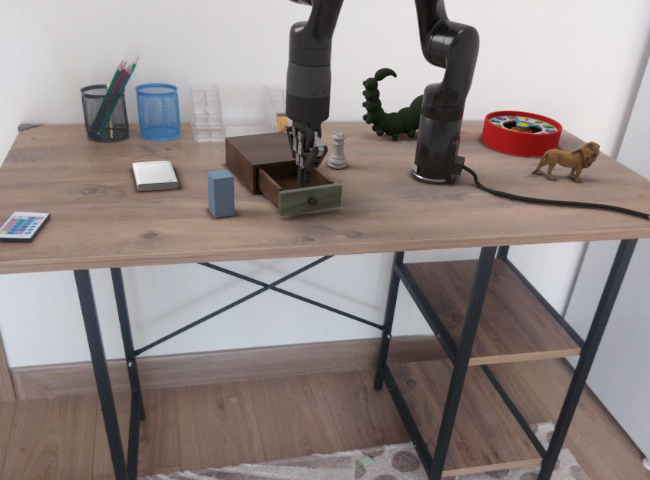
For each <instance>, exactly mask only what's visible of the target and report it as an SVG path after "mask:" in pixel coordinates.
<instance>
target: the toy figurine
mask: <svg viewBox="0 0 650 480" xmlns="http://www.w3.org/2000/svg"><path fill="white" fill-rule="evenodd" d="M390 76H391V77H393V78H395V79H397V77H398V74H397V72H396V71H395V70H394V69H392V68H391V67H381V68H380V69H378V70H376V72H375V73H374V76H373V77H368V78H366V79H365V80H363V81H362V86H363V87H364V90H362V91H361V93H362V97H364V99H365V101H363V102H362V103H361V106H362V107H363V108H364V109H365V110H366V113H364V114H363V115H362V120H363V121H364V122H365V124H366V125H372V126H371V130H372V131H373V132H375V135H377V137H383V136H384V135H387V136H388V137H391V140H393V141H398V140H399V139H400V136H401V135H402V134H404V135H406V137H407V138H408V139H415V137H417V132H416V131H417V130H418V131H419V123H420V116H421V108H422V101H423V93H422V94H420V95H418V96H416V97H415V98H413V100H412V101H411V103H410V105H409V106H405V107H402V108H400V109H399V110H398V111H397V112H396V111H392V112H385V110H384V108H383V107H382V104H383V103H382V101H381V99H380V97H381V92H380V89H379V88H378V87H379V82H381V81H383V80H385V79H386V78H387V77H390Z"/></svg>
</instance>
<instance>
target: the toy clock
mask: <svg viewBox="0 0 650 480" xmlns="http://www.w3.org/2000/svg"><path fill="white" fill-rule="evenodd" d="M562 131H563V126H562V124H561V123H560V122H558V121H557V120H555V119H553V118H551V117H548V116H545V115H542V114H539V113H534V112H529V111H521V110H495V111H491V112H489V113H487V114H486V115H485V117H484V122H483V127H482V132H481V137H480V140H481V142H482V144H483V145H484V146H486V147H487V148H489V149H492V150H494V151H496V152H499V153H503V154H506V155H511V156H517V157H524V158H542V156H543V155H544V154H545V153H546V152H547V151H548V150H551V149H558V147H559V143H560V139H561V135H562Z"/></svg>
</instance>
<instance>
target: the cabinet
mask: <svg viewBox="0 0 650 480" xmlns="http://www.w3.org/2000/svg"><path fill="white" fill-rule="evenodd" d="M224 141H225V142H224V148H225V165H226V167H228V168H229V170H230V171H231V172H232V174H234V175H235V176H236V177H237V178H238V179H239V181H240V182H241V183H242V184H243V185H244V186H245V187H246V188H247V189H248V190H249V191H250V193H251V194H253V195H255V194H263V193H262V191H261V190H260V189H259V188H258V187H257V186H256V168H259V167H267V166H275V165H283V164H291V163H296V158H295V159H293V157H292V153H291V149H290V145H289V140H288V136H287V132H286V131H276V132H267V133H257V134H248V135H247V134H246V135H237V136H226V137H224Z"/></svg>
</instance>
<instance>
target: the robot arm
mask: <svg viewBox="0 0 650 480" xmlns="http://www.w3.org/2000/svg"><path fill="white" fill-rule="evenodd" d="M288 1H289V2H291V3H294V4H297V5H304V6H308V7H311V11H310V14H309V17H308V18H307V20H300V21H296V22H295V23H293V24H292V25H291V26H290V28H289V34H288V61H287V69H286V76H285V77H286V79H285V112H284V113H285V117H287V118H288V119H289V120H291V123H292V125H287V126H285V127H286V128H285V132H286V133H287V136H288V140H289V145H290V149H291V153H292V157H293V159H295V158H296V164H297V165H298V175H297V184H298V185H299V186H300V187H301V188H306V187H310V186H311V183H312V168H319V167H320V166H321V164H322V162H323V161H324V159H325V157H326V156H327V154H328V152H329V148H328V145H326V144H325V145H323V143H322V141H321V139H322V136H323V133H322V132H323V131H322V123H324V122H326V121H327V120H328V119H329V118H330V108H331V94H332V93H331V92H332V52H333V38H334V33H335V30H336V28H337V24H338V21H339V18H340V14H341V12H342V8H343V5H344V2H345V0H288ZM413 2H414V8H415V13H416V20H417V27H418V36H419V43H420V50H421V53H422V56H423V58H424V59H425V61H426V62H427V63H428V64H429V65H431V66H434V67H437V68H440V69H444V70H445V71H444V74H443V78H442V81H440V82H434V83H429V84H427V85H426V86H425V87H424V89H423V92H422V94H423V101H422V108H421V116H420V123H419V130H418V131H417V139H416V146H415V152H414V153H415V155H414V161H412V164H411V168H412V171H411V173H412V176H413V178H414V179H417V180H418V181H420V182H424V183H428V184H435V185H436V184H437V185H438V184H439V185H440V184H451V183H452V181H453V180H454V176H461V175H462V173H463V170H464V171H466V172H467V173H468V174H470V175H471V176H472V179H473V182H474V184H475V186H476V187H477V188H478V189H480V190H482V191H484V192H487V193H489V194H492V195H495V196H501V197H504V198H507V199H513V200H517V201H523V202H529V203H536V204H545V205H553V206H555V205H556V206H568V207H569V206H571V207H582V208H594V209H603V210H609V211H615V212H620V213H625V214H629V215H632V216H636V217H640V218H644V219H648V220H649V218H650V213H645V212H641V211H638V210H634V209H629V208H625V207H621V206H616V205H610V204H604V203H595V202H594V203H593V202H584V201H574V200H573V201H572V200H559V199H545V198H537V197H529V196H524V195H518V194H513V193H509V192H505V191H500V190H494V189H490V188H488V187H486V186H484V185H483V184H481V182H479V177H478V174H477V173H476V172H475V171H474V170H473V169H472V168H470V167H469V166H467V165H465V161H466V157H465V156H461V155H459V150H460V144H461V138H462V135H461V131H462V125H463V118H464V113H465V107H466V102H467V97H468V95H469V93H470V90H471V89H472V84H473V80H474V75H475V71H476V66H477V62H478V57H479V53H480V47H481V43H480V42H481V39H480V34H479V33H480V32H479V31H478V29H477V28H476V27H475V26H472V25H469V24H465V23H462V22H458V21H453V20H450V18H449V16H448V13H447V9H446V5H445V4H446V3H445V0H413Z"/></svg>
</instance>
